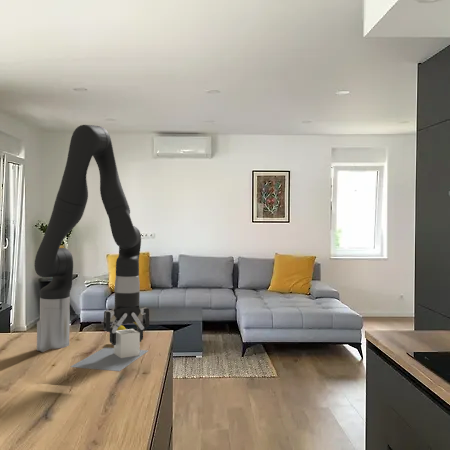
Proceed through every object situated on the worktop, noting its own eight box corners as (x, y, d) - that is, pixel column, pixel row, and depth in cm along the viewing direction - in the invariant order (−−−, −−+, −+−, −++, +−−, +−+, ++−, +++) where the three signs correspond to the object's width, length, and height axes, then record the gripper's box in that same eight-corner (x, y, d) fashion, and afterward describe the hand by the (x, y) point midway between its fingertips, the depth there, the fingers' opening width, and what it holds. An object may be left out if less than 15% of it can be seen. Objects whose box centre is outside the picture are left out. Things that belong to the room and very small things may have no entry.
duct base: (69, 372, 141) (70, 366, 141) (105, 351, 162) (105, 347, 162) (119, 376, 137) (119, 371, 137) (148, 355, 159) (148, 350, 159)
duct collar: (120, 358, 150) (121, 334, 150) (113, 353, 155) (114, 330, 155) (139, 355, 153) (139, 332, 153) (132, 350, 158) (132, 328, 158)
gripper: (108, 293, 147) (108, 348, 147) (153, 290, 154) (153, 342, 155) (100, 290, 153) (99, 343, 153) (143, 287, 161) (143, 337, 161)
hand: (126, 343), depth 154 cm, fingers open, 8 cm apart
